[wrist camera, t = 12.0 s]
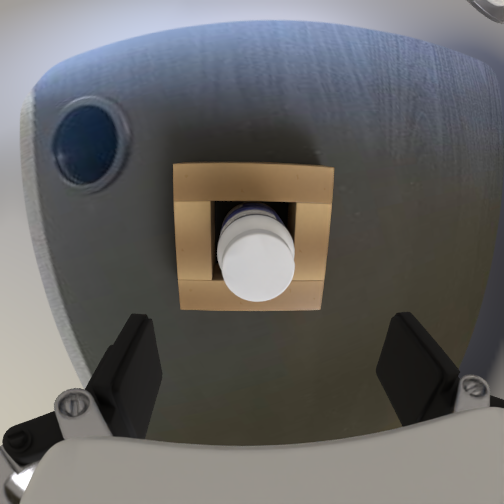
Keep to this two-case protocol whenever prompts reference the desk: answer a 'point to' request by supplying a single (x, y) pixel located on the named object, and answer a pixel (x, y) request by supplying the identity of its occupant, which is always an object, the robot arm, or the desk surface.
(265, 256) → the pill bottle
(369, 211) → the desk surface
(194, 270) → the holder
